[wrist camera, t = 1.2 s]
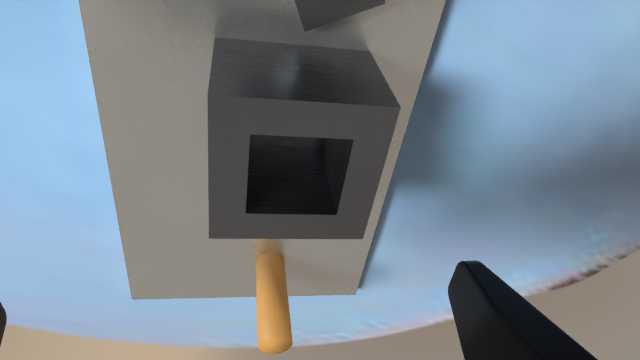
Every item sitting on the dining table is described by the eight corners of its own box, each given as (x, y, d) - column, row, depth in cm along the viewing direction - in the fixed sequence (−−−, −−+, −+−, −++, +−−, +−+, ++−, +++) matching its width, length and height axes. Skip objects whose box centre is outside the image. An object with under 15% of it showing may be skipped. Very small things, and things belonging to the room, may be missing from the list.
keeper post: (285, 252, 24) (294, 334, 21) (283, 271, 25) (290, 353, 22) (256, 252, 24) (259, 335, 20) (254, 272, 25) (256, 354, 21)
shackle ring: (369, 50, 18) (401, 107, 14) (343, 171, 21) (362, 239, 18) (214, 37, 17) (207, 95, 13) (214, 166, 20) (208, 238, 17)
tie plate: (469, -103, 15) (520, -86, 13) (353, 286, 28) (365, 338, 25) (55, -173, 13) (3, -170, 10) (133, 290, 26) (120, 348, 23)
